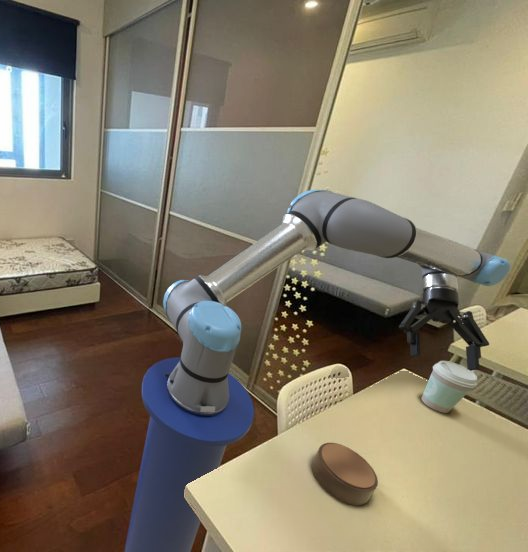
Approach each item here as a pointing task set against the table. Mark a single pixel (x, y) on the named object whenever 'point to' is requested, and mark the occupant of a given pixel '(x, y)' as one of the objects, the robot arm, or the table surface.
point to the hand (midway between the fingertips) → (443, 362)
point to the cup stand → (344, 473)
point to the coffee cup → (448, 386)
